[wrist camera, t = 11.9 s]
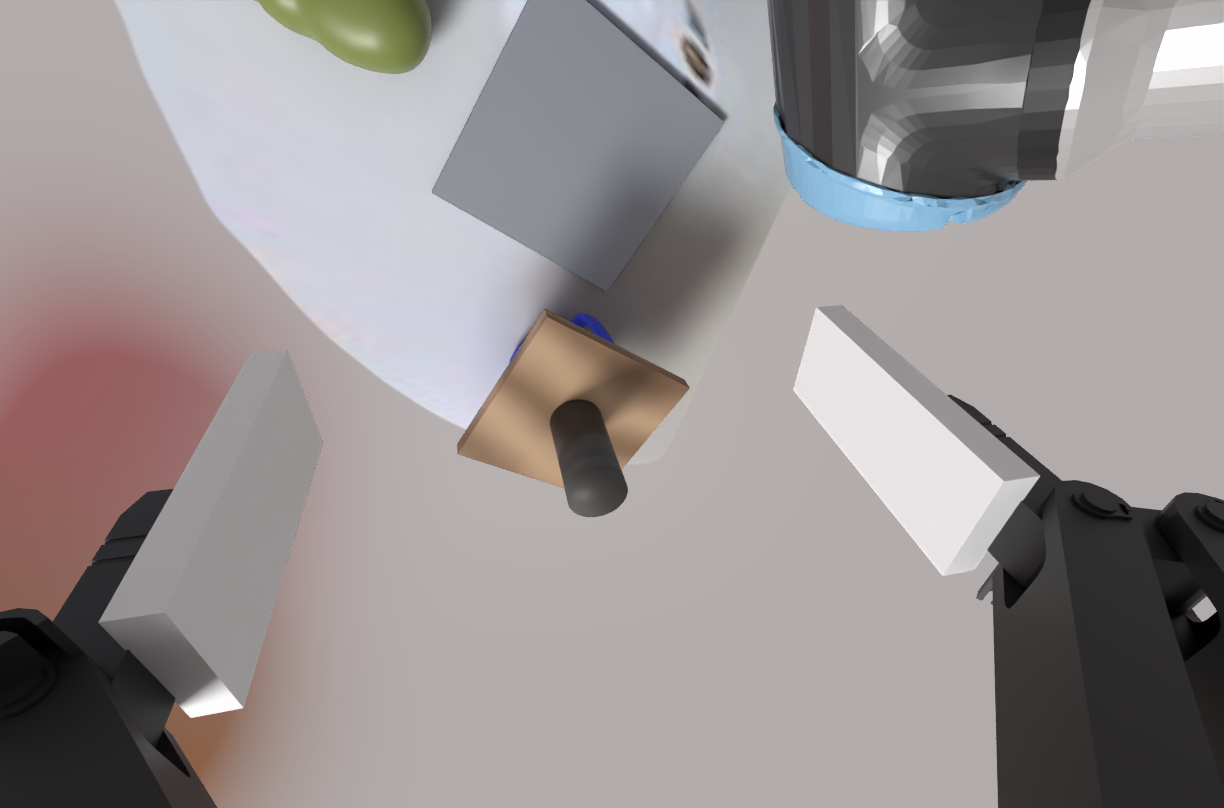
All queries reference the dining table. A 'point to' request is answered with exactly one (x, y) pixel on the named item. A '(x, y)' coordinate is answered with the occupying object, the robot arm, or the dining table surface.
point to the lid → (572, 413)
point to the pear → (361, 29)
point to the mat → (576, 141)
